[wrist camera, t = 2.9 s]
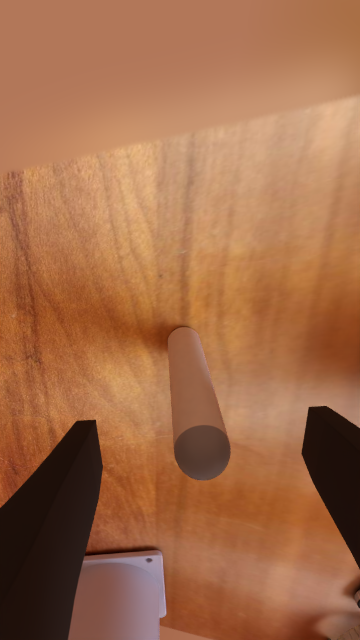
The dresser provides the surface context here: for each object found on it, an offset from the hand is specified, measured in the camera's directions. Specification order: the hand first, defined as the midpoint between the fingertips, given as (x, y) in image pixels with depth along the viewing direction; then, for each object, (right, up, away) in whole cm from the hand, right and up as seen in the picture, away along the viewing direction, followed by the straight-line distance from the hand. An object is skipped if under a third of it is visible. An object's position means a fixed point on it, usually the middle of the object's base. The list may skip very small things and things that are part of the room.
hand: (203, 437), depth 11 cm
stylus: (-1, +3, +7) cm, 7 cm away
